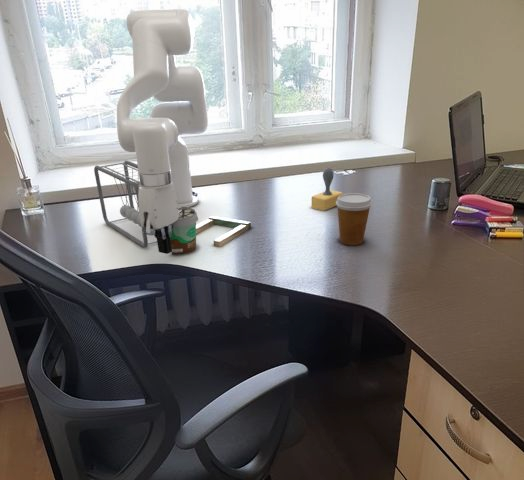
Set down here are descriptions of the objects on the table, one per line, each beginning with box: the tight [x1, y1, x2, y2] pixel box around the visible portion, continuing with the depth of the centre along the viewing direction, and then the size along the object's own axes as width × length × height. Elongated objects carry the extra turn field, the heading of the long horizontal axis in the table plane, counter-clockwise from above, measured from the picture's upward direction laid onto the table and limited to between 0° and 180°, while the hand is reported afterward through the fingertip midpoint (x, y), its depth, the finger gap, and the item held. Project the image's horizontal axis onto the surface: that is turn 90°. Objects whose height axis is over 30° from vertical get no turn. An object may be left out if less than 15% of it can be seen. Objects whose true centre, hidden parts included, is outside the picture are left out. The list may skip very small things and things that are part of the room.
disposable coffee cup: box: [336, 192, 373, 246], centre depth 142 cm, size 10×10×12 cm
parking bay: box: [196, 215, 252, 248], centre depth 154 cm, size 14×17×2 cm
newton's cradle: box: [93, 160, 160, 248], centre depth 153 cm, size 30×10×18 cm, turn 36°
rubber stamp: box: [311, 167, 344, 212], centre depth 170 cm, size 10×6×12 cm, turn 137°
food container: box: [170, 207, 199, 256], centre depth 141 cm, size 12×6×10 cm, turn 168°
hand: (165, 252), depth 135 cm, fingers closed
